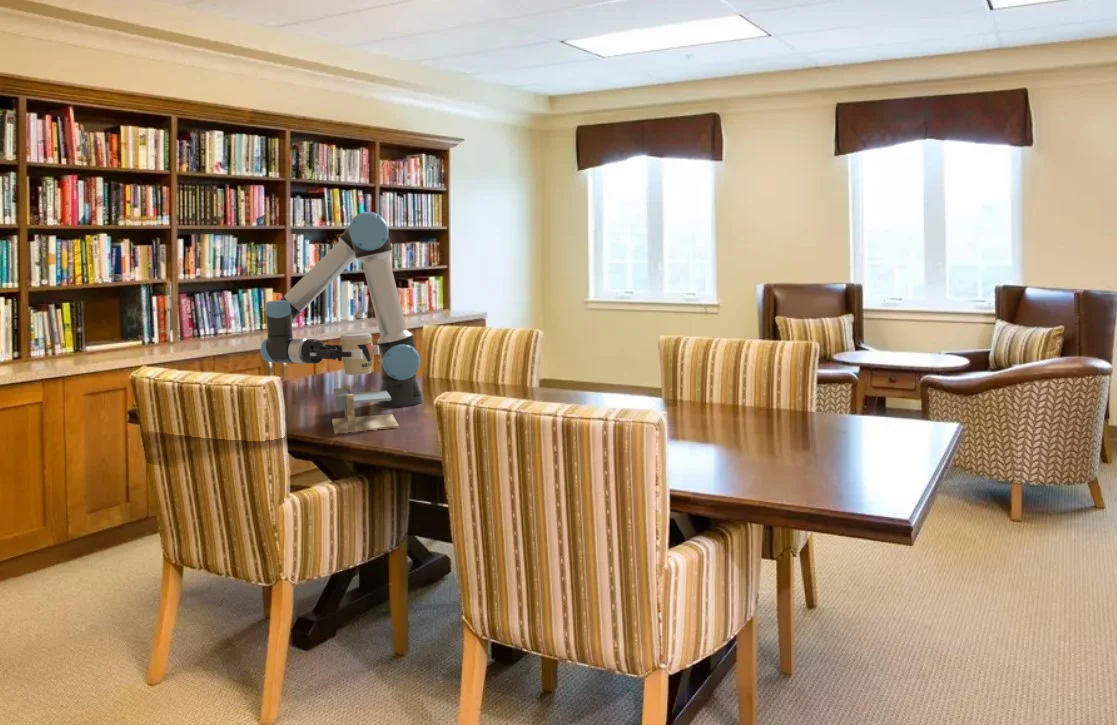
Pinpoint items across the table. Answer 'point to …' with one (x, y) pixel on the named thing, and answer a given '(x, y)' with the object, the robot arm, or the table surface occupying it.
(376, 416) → the frame
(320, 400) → the table surface
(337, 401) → the trapdoor
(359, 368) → the coffee cup
